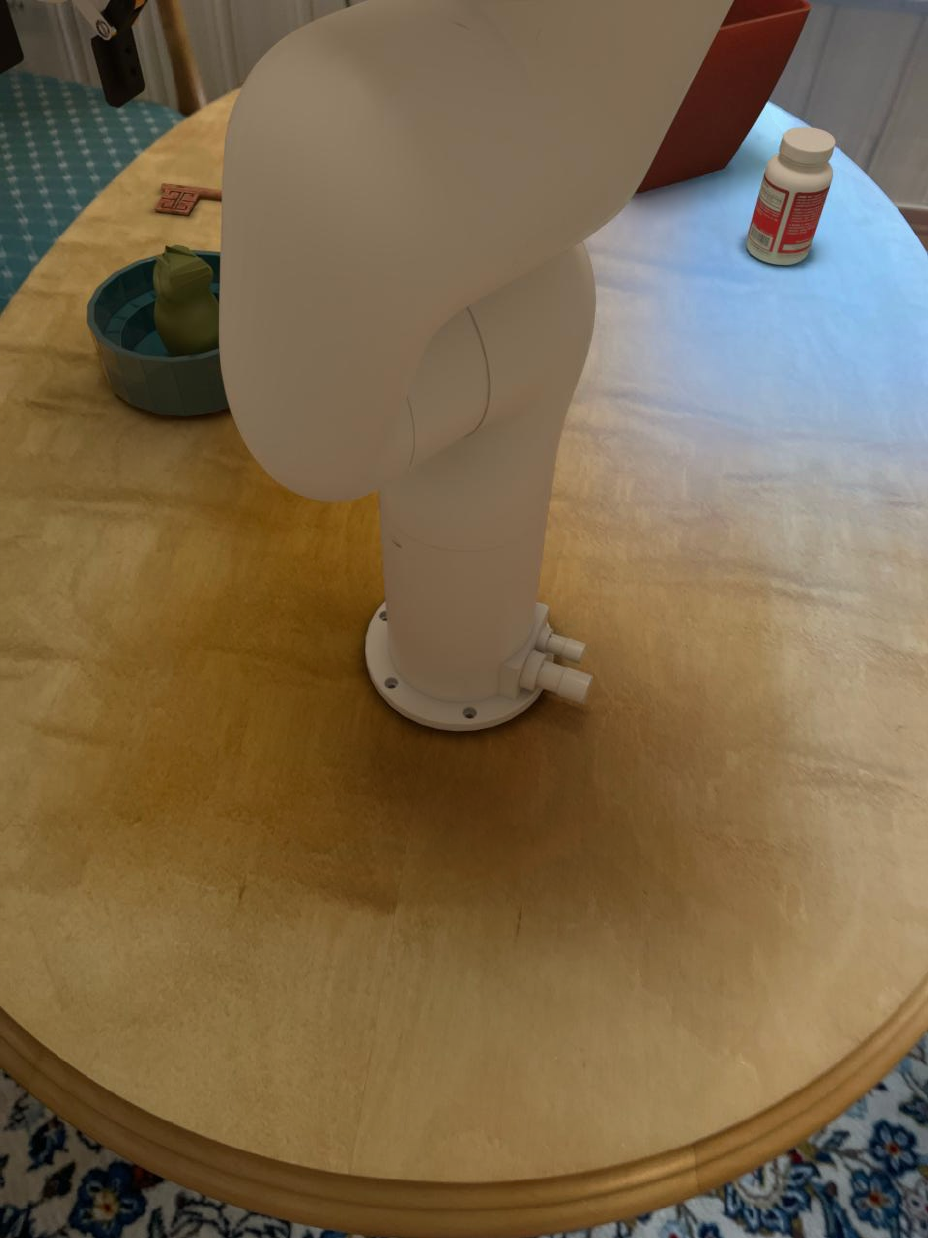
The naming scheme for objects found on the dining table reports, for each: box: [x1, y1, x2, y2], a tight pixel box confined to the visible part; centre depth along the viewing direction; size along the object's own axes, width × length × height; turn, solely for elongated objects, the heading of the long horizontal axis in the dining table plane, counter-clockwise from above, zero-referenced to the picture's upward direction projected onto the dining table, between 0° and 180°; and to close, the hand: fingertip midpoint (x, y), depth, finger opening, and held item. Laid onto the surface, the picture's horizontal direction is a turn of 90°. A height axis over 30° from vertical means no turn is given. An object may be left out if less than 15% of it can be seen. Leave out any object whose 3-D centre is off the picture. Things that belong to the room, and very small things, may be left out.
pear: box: [153, 244, 219, 357], centre depth 79 cm, size 6×5×10 cm
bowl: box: [86, 249, 230, 417], centre depth 82 cm, size 15×15×6 cm
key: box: [153, 182, 222, 215], centre depth 99 cm, size 6×1×15 cm
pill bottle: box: [745, 126, 836, 266], centre depth 92 cm, size 6×6×11 cm
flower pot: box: [634, 0, 813, 195], centre depth 100 cm, size 19×19×17 cm
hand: (65, 83), depth 63 cm, fingers open, 9 cm apart
